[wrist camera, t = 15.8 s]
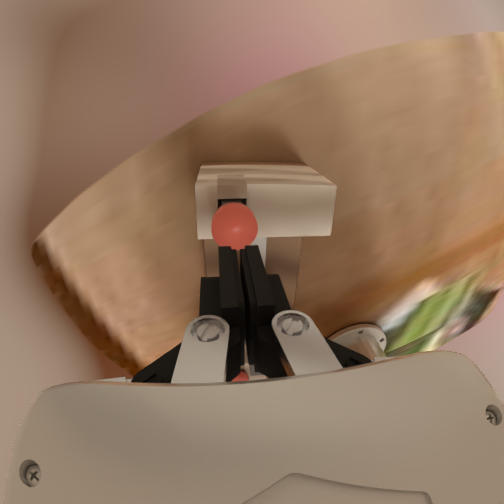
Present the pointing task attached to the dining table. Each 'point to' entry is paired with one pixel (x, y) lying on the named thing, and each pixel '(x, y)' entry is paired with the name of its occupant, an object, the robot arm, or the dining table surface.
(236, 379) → the red knob cap
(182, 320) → the dining table surface
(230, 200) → the red rounded knob
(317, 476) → the robot arm
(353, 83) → the dining table surface
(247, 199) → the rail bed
